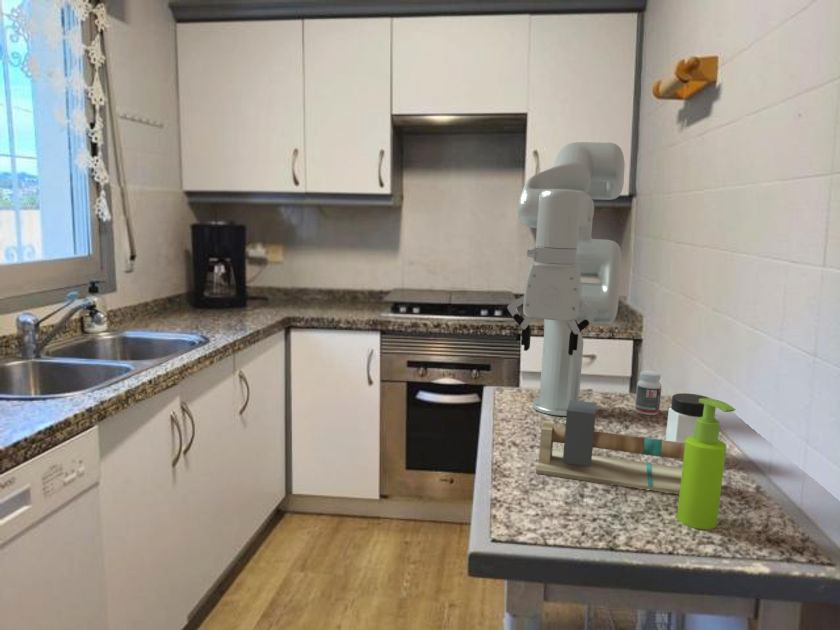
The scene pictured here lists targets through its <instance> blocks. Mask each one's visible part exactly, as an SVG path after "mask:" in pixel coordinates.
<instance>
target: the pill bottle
mask: <svg viewBox="0 0 840 630" xmlns="http://www.w3.org/2000/svg"><path fill="white" fill-rule="evenodd" d="M639 374H640V375H639V377H640V380H639V381H637V383H636V395H635V405H634V411H635V412H637V413H639V414H642V415H645V416H657V415H658V414H659V413H660V406H661V405H660V404H661V395H662V384H661V383H660V380H661V373H659V372H656V371H652V370H643V371H641V372H640V373H639Z"/></svg>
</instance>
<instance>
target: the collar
mask: <svg viewBox="0 0 840 630" xmlns="http://www.w3.org/2000/svg"><path fill="white" fill-rule="evenodd" d="M596 412H597V402H593V401H592V402H591V401H583V400H582V401H581V400H579V401H576V400H570V402H569V405H568V408H567V415H566V416H565V427H566V428H565V440H564V443H563V444H564V445H563V451H564V452H563V463H569V464H576V465H582V466H589V467H590V466H591V459H592V455H593V452H594V451H593V450H594V449H593V448H594V447H592V445H593V434H594V431H595V428H596V427H595V425H596V417H597V416H596V415H597V413H596Z"/></svg>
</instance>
